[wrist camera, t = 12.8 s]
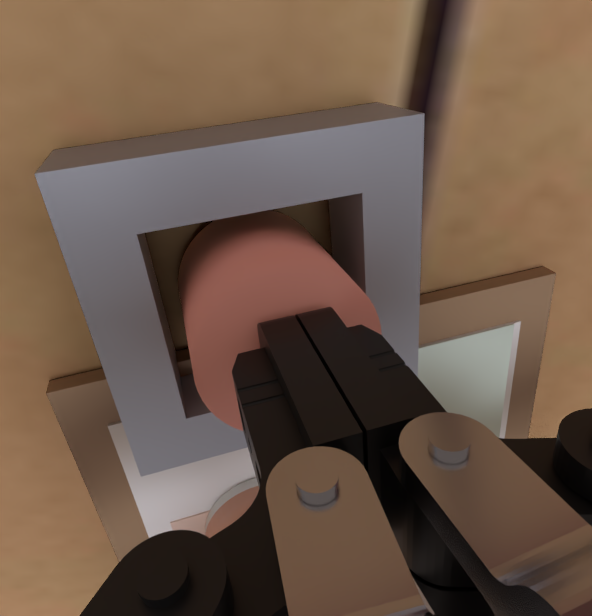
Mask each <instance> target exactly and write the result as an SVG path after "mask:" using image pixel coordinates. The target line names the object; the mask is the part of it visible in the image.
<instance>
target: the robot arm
mask: <svg viewBox="0 0 592 616" xmlns="http://www.w3.org/2000/svg"><path fill="white" fill-rule="evenodd" d="M257 329H258V336H259V343H260V349H255V350H251V351H247V352H243V353H239V354H238V355H237V358H236V361H235V363H234V366H233V369H232V376H233V381H234V386H235V391H236V396H237V401H238V406H239V411H240V417H241V422H242V427H243V432H244V435H245V439H246V443H247V446H248V450H249V453H250V457H251V461H252V464H253V468H254V471H255V475H256V479H257V482H258V486H259V491H258V494H257V496H256V498H255V500H254V502H253V503H252V505H251V506H250V507H249V509H248V510H247V511H246V512H245V513H244V514H243V515H242V516H241V517H240V518H239V519H237V520H236V521H235V522H233V523H232V524H231V525H229V526H228V527H226V528H225V529H223V530H221V531H220V532H218V533H217V534H215V535H214V536H212V537H211V538H209V537H207V536H206V535H203V534H201V533H199V532H195V531H191V530H173V531H167V532H164V533H160V534H157V535H155V536H152V537H150V538H148V539H147V540H145V541H143V542H141V543H140V544H138V545H137V546H136V547H134V548H133V549H132V550H131V551H130V552H129V553H127V554H126V555H125V556H124V557H123V559H122V560H121V561H120V562H119V563H118V565H117V566H116V567H115V568H114V570H113V571H112V573H111V574H110V575H109V577H108V578H107V579H106V581H105V582H104V583H103V585H102V586H101V587H100V589H99V590H98V591H97V593H96V594H95V596H94V597H93V598H92V600H91V601H90V602H89V604H88V605H87V606H86V608H85V609H84V610H83V612H82V613H81V614H80V616H592V409H583V410H578V411H575V412H572V413H571V414H569V415H567V416H566V417H565V418H564V419H563V420H562V421H561V423H560V425H559V430H558V434H557V438H528V439H505V438H498V437H497V436H496V435H495V434H494V433H493V432H492V431H491V430H489V429H488V428H487V427H486V426H485V425H483V424H481V423H480V422H478V421H476V420H474V419H472V418H470V417H467V416H464V415H460V414H456V413H448V412H447V411H446V410H445V409H444V408H443V407H442V406H441V404H440V403H439V402H438V401H437V400H436V398H435V397H434V396H433V395H432V394H431V393H430V391H429V390H428V389H427V388H426V387H425V385H424V384H423V383H422V382H421V381H420V380H419V378H418V377H417V376H416V375H415V374H414V372H413V371H412V370H411V369H410V368H409V367H408V366H406V365H405V362H404V361H403V359H402V358H401V357H400V356H399V355H398V354H397V353H395V351H394V349H393V348H392V346H391V345H390V344H389V343H388V342H387V341H386V339H385V338H384V337H383V336H382V335H381V334H379V333H377V332H375V331H373V330H371V329H369V328H367V327H365V326H364V325H362V324H361V325H356V326H352V327H348V328H347V327H346V325H345V324H344V323H343V321H342V320H341V319H340V317H339V316H338V315H337V313H336V312H335V311H334V309H333V308H332V307H326V308H322V309H317V310H313V311H309V312H304V313H300V314H296V315H295V316H294V315H292V316H287V317H283V318H278V319H274V320H269V321H265V322H261V323H258V324H257Z"/></svg>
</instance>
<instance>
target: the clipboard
mask: <svg viewBox="0 0 592 616" xmlns="http://www.w3.org/2000/svg"><path fill="white" fill-rule="evenodd" d="M555 277H556V273H555V272H553V271H551V270H549V269H547V268H545V267H544V266H543V267H539V268H534V269H530V270H526V271H522V272H517V273H513V274H509V275H504V276H500V277H496V278H491V279H487V280H483V281H478V282H474V283H470V284H465V285H461V286H457V287H452V288H448V289H444V290H439V291H435V292H431V293H426V294H422V295H420V309H419V348H418V378H419V380H420V381H421V382H422V383H423V384H424V385H425V387H426V388H427V389H428V390H429V391H430V393H431V394H432V395H433V396H434V397H435V398H436V400H437V401H438V402H439V403H440V404H441V406H442V407H443V408H444V409H445V410H446V411H447V412H448V413H456V414H460V415H464V416H467V417H470V418H472V419H474V420H476V421H478V422H480V423H481V424H483V425H485V426H486V427H487V428H488V429H489V430H491V431H492V432H493V433H494V434H495V435H496V436H497V437H498V438H505V439H528V435H529V429H530V423H531V417H532V411H533V405H534V399H535V394H536V388H537V382H538V376H539V370H540V364H541V358H542V353H543V347H544V341H545V335H546V329H547V323H548V318H549V312H550V306H551V300H552V294H553V288H554V282H555ZM175 353H176V360H177V365H178V369H179V373H180V377H182V376H186V375H190V374H193V370H192V364H191V359H190V353H189V349H184V350H180V351H176V352H175ZM46 394H47V396H48V399H49V401H50V403H51V406H52V408H53V410H54V413H55V415H56V417H57V420H58V422H59V424H60V427H61V429H62V431H63V433H64V436H65V438H66V440H67V443H68V445H69V447H70V450H71V452H72V454H73V457H74V459H75V461H76V464H77V466H78V468H79V471H80V473H81V475H82V477H83V480H84V482H85V484H86V487H87V489H88V491H89V494H90V496H91V498H92V501H93V503H94V505H95V508H96V510H97V512H98V515H99V517H100V519H101V521H102V524H103V526H104V528H105V531H106V533H107V535H108V538H109V540H110V542H111V545H112V547H113V549H114V552H115V554H116V556H117V559H118V561H119V562H120V561H121V560H122V559H123V557H124V556H125V555H126V554H127V553H129V552H130V551H131V550H132V549H133V548H134V547H136V546H137V545H138V544H140V543H141V542H143V541H145V540H147V539H148V538H150V537H152V536H155V535H157V534H160V533H164V532H167V531H173V530H191V531H195V532H199V533H201V534H203V535H205V533H206V532H205V524H206V519H207V516H208V514H209V512H210V510H211V508H212V507H213V505H214V504H215V503H216V502H217V501H218V500H219V498H220V497H221V496H223V495H224V494H225V493H226V492H228V491H229V490H230V489H232V488H233V487H235V486H237V485H239V484H241V483H243V482H245V481H248V480H251V479H254V478H256V475H255V471H254V468H253V464H252V461H251V457H250V453H249V450H248V447H247V448H244V449H240V450H236V451H233V452H229V453H225V454H222V455H218V456H215V457H211V458H207V459H204V460H200V461H196V462H193V463H189V464H186V465H182V466H178V467H175V468H171V469H167V470H164V471H160V472H157V473H153V474H149V475H146V476H142V477H141V476H140V473H139V470H138V467H137V464H136V461H135V459H134V456H133V453H132V450H131V447H130V444H129V442H128V439H127V436H126V433H125V430H124V427H123V424H122V422H121V419H120V416H119V413H118V410H117V407H116V405H115V402H114V399H113V396H112V393H111V390H110V387H109V385H108V382H107V379H106V376H105V373H104V370H103V368H102V369H98V370H94V371H89V372H85V373H81V374H76V375H72V376H68V377H63V378H59V379H55V380H50V381H49V385H48V388H47V392H46Z"/></svg>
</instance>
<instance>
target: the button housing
mask: <svg viewBox="0 0 592 616" xmlns="http://www.w3.org/2000/svg"><path fill="white" fill-rule="evenodd" d="M423 151H424V113H421V112H416V111H412V110H408V109H404V108H399V107H395V106H391V105H386V104H382V103H378V102H376V103H369V104H363V105H356V106H349V107H342V108H335V109H329V110H322V111H315V112H308V113H301V114H294V115H288V116H281V117H274V118H267V119H260V120H254V121H247V122H240V123H233V124H226V125H220V126H213V127H206V128H199V129H192V130H186V131H179V132H172V133H165V134H158V135H152V136H145V137H138V138H131V139H124V140H118V141H111V142H104V143H97V144H90V145H84V146H77V147H70V148H63V149H56V150H53V151H52V152H51V153H50V155H49V156H48V157H47V158H46V160H45V161H44V162H43V164H42V165H41V166H40V167H39V169H38V170H37V171H36V172H35V177H36V180H37V182H38V185H39V188H40V191H41V194H42V197H43V200H44V202H45V205H46V208H47V211H48V214H49V217H50V220H51V222H52V225H53V228H54V231H55V234H56V237H57V239H58V242H59V245H60V248H61V251H62V254H63V257H64V259H65V262H66V265H67V268H68V271H69V274H70V276H71V279H72V282H73V285H74V288H75V291H76V294H77V296H78V299H79V302H80V305H81V308H82V311H83V313H84V316H85V319H86V322H87V325H88V328H89V331H90V333H91V336H92V339H93V342H94V345H95V348H96V350H97V353H98V356H99V359H100V362H101V365H102V368H103V370H104V373H105V376H106V379H107V382H108V385H109V387H110V390H111V393H112V396H113V399H114V402H115V405H116V407H117V410H118V413H119V416H120V419H121V422H122V424H123V427H124V430H125V433H126V436H127V439H128V442H129V444H130V447H131V450H132V453H133V456H134V459H135V461H136V464H137V467H138V470H139V473H140V476H141V477H142V476H146V475H149V474H153V473H157V472H160V471H164V470H167V469H171V468H175V467H178V466H182V465H186V464H189V463H193V462H196V461H200V460H204V459H207V458H211V457H215V456H218V455H222V454H225V453H229V452H233V451H236V450H240V449H244V448H247V447H248V446H247V443H246V439H245V435H244V432H243V431H241V430H238V429H236V428H233V427H231V426H229V425H228V424H226V423H224V422H223V421H221V420H220V419H219V418H217V417H216V416H215V415H214V414H213V413H212V412H211V411H210V410H209V409H208V408H207V406H206V405H205V404H204V402H203V401H202V399H201V397H200V395H199V393H198V391H197V388H196V385H195V382H194V376H193V374H190V375H186V376H182V377H180V373H179V369H178V365H177V360H176V353H175V348H174V344H173V341H172V337H171V333H170V329H169V325H168V321H167V317H166V314H165V310H164V306H163V302H162V298H161V294H160V290H159V287H158V283H157V279H156V275H155V271H154V267H153V263H152V260H151V256H150V252H149V248H148V244H147V240H146V236H145V233H147V232H152V231H158V230H163V229H169V228H174V227H180V226H185V225H191V224H196V223H201V222H207V221H212V220H218V219H223V218H229V217H234V216H240V215H245V214H250V213H256V212H261V211H267V210H272V209H278V208H283V207H289V206H294V205H300V204H305V203H310V202H316V201H321V200H327V199H328V200H329V215H330V229H331V244H332V258H333V259H334V260H335V261H336V262H337V264H338V265H339V266H340V267H341V268H342V269H343V270H344V271H345V272H346V273H347V274H348V275H349V276H350V278H351V279H352V280H353V281H354V282H355V283H356V284H357V285H358V286H359V287H360V288H361V289H362V291H363V292H364V293H365V294H366V295H367V296H368V297H369V299H370V300H371V302H372V304H373V305H374V307H375V309H376V312H377V314H378V317H379V321H380V325H381V333H382V336H383V337H384V338H385V339H386V341H387V342H388V343H389V344H390V345H391V346H392V348H393V349H394V351H395V353H397V354H398V355H399V356H400V357H401V358H402V359H403V361H404V362H405V365H406V366H408V367H409V368H410V369H411V370H412V371H413V372H414V374H415V375H416V376H417V377H418V348H419V309H420V269H421V230H422V190H423Z"/></svg>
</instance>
